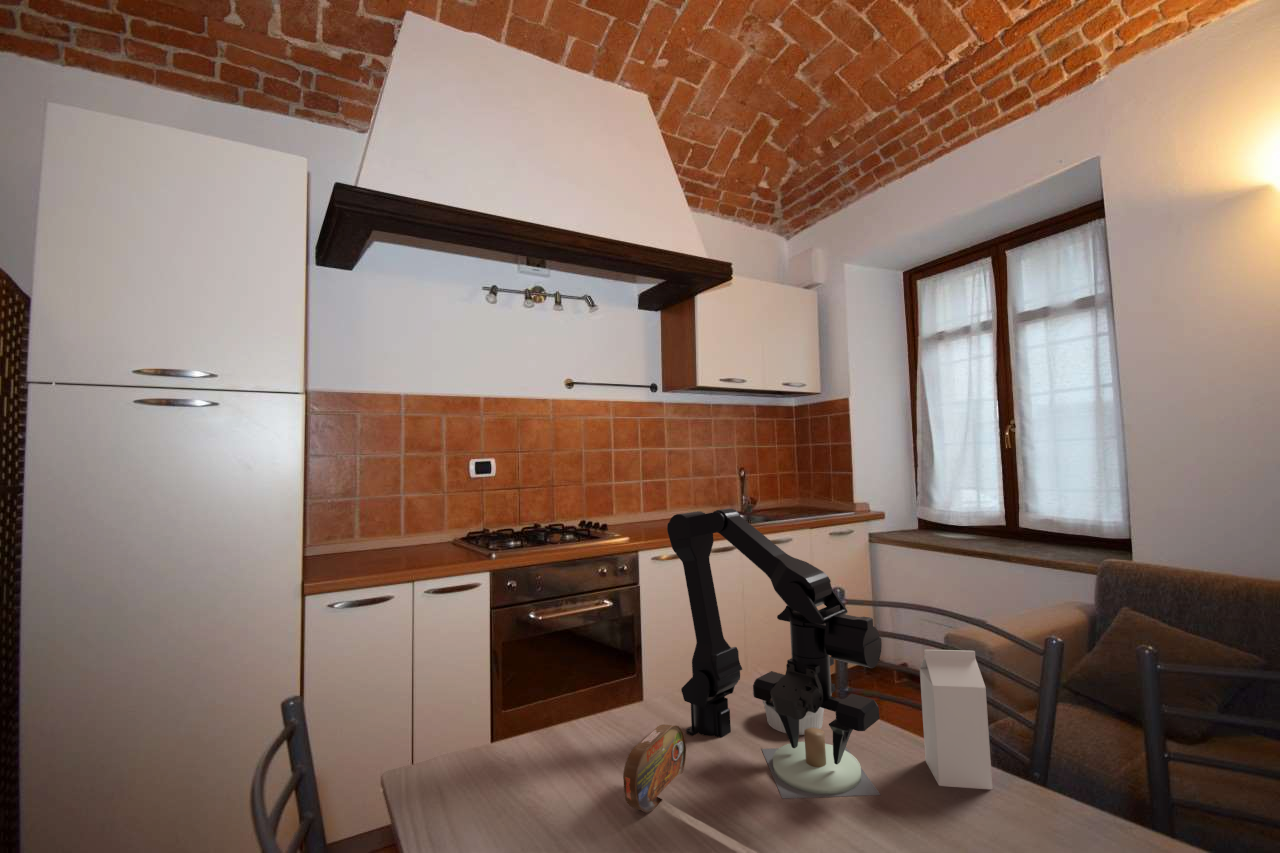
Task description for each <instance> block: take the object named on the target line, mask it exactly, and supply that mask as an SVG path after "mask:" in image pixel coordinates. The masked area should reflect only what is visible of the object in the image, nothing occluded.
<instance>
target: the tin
mask: <svg viewBox="0 0 1280 853" xmlns="http://www.w3.org/2000/svg"><path fill="white" fill-rule="evenodd" d="M686 744H687V743H686V739H685V734H684V731H683V729H682V728H681V727H680V726H679V725H677V724H675V725H671V724H659V725H658V726H656V727H655V729H653V730H652V731H651V732H649V733H648V735H647V736H645V737H644V738H643V739H642V740H641V741H640V742H638V743H637V745H635V746H634V747H633V748H631V751H630V752H629V754H628V756H627V758H626V760H625V764H624V768H623V775H622V776H623V794H624V798H625V802H626V803H627V805H628V806H629V807H630V808H632V809H635V810H638V811H642V812H643V813H650V812H653V811H654V810H655V808H656V807H658V805H660V803H661V802H662V801H663V799H662V798H661V797H659V795H660V794H661V793H662V792H663V791H664V789H665V788H667V786H668V785H669V784H671V782H672V781H673V780H674V779H675V778H676V777H677V776H678V775H681V774H683V772H684V769H685V764H686V757H687V754H686V753H687V745H686Z"/></svg>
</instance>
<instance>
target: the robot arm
mask: <svg viewBox="0 0 1280 853" xmlns="http://www.w3.org/2000/svg"><path fill="white" fill-rule="evenodd" d="M666 529H667V530H666V531H667V536H668V539H669V542H670V545H671V548H672V550H673V552H674V553H675V554H676V556H677V557H678V558H679V560H680V561H681V562H682V565H683V572H684V576H685V583H686V584H685V585H686V588H687V594H688V601H689V606H690V611H691V617H692V624H693V628H694V634H695V641H696V643H695V648H694V652H693V654H692V659H691V670H692V672H691V673H692V677H691V678H690V679H689V680H688V681H687V682H686V683H685V684H684V685H683V686H682V687H681V689H680V690H681V694H682V697H683V700H684V702H685V703H689V704H690V718H691V719H690V721H691V726H689V727H688V728H685V733H687V734H689V735H691V736H696V735H697V734H699V735H702V736H707V737H713V736H714V737H715V738H723V737H725V736H726V735H729V734H730V733H731V731H732V730H731V709H730V708H729V700H728V698H727V697H726V696H728V695H731V694H733V693H734V689H735V687H736V685H737V684H738V682H739V681H740V680H741V671H742V670H743V667H742V665H741V662H740V658H739V655H740V654H739V649H738V648H737V646H732V647H731V646H730V645H729V644H728V642H727V641H726V639H725V637H724V633H723V627H722V623H721V618H720V617H721V616H720V611H719V606H718V601H717V593H716V589H715V584H714V580H713V578H714V577H713V573H712V568H711V562H710V556H711V552H712V550H713V545H714V534H716V533H718V534H719V535H720V536H722V537H723V538H724V540H726V541H727V542H728V543H730V544H731V545H732V546H733V547H734V548H736V549H737V550H738V551H739V552H740V553H741V554H742V555H743V556H744V557H746V558H747V559H748V560H750V562H752V564H754V565H755V566H756V567H757V568H759V569H760V570H761V571H762V572H763V573H764V574H765V575H766V576H767V578H768V579H769V580H770V582H771V585H772V587H773V589H774V591H775V593H776V594H777V595H778V596H779V597H780V599H781V600H782V601H783V602H784V604H786V606H785V608H783V610H782V611H781V612H780V613H779V614H777V616H776V618H777V620H778V621H782V622H788V623H789V629H790V630H789V631H790V634H789V635H790V650H791V654H790V655H791V657H790V658H789V659H787V661H786V662H787V663H786V665H785V666H786V669H785V670H786V671H785V674H783V673H780V672H775V671H773V670H771V671H769V672H767V673H764V674H763V675H761V676H758V677H757V678H756V679H755V680H754V682H753V685H752V691H753V692H752V694H753V698H754V699H758V700H761V701H763V700H764V701H766V702H765V703H766V705H767V706H769V707H771V708H772V709H774V710H775V711H776V713H778V715H779V717H780V719H781V721H782V723H783V726H784V728H785V731H786V733H785V734H786V736H787V738H788V740H789V744H791V746H792V748H796V747H797V746H798V742H799V738H800V735H799V720H800V719H803V718H804V717H805V715H806V713H807V712H813V713H816V712H817V711H818V709H819V708H820V707H821V708H824V710H828V711H831V712H834V713H835V719H833V720H832V721H831V722H829V723H828V727H829V728H830V730H831V731H832V745H833V757H834V763H835V764H839V763H840V761H841V758H842V756H843V753H844V750H845V748H846V747H847V744H848V742H849V739H850V737H851V734H852V732H853V731H856V732H865V731H866V730H867V729H869V728H870V727H871V726H873V725H874V724H875V723H876V722H878V721H879V720H880V707H879V705H878V704H877V702H876V701H875V699H874V698H873V699H872V698H869V697H866V696H862V695H858V694H855V693H850V694H849V695H848V696H846V697H845V698H843V699H841V698H838V697H835V696H833V695H832V694H833V693H834V692H836V683H832V678H831V676H832V675H831V666H833V665H834V664H835V660H837V661H841V662H845V663H847V664H854V665H857V666H860V667H861V666H862V667H866V668H870V669H873V668H875V667H876V666H877V665H878V663H879V661H880V659H881V653H882V638H881V637H880V635H879V631H878V629H877V627H875V626H874V619H873V618H872V617H870V616H869V617H868V616H856V615H851V614H849V615H848V614H847V613H848V608H846V606H845V604H843V602H842V600H841V599H840V597H839V596H838V595H837V593H836V592H835V590H834V589H833V587H832V585H831V582H832V581H831V579H830V577H829V576H828V575H827V574H826V573H825V571H823V570H821V569H819V568H818V567H816V566H815V565H812V564H811V563H809V562H807V561H805V560H802V559H799V558H797V557H793V556H792V555H790V554H788V553H787V552H785V551H784V550H782V548H781V547H779V546H777V545H776V544H775V543H774V542H773V541H771V540H770V539H769V538H768V537H767V536H765V535H764V534H763V533H762V532H760V531H759V530H758V529H757V528H755V526H753V525H752V524H750V523H749V521H747V520H746V519H745V518H743V517H742V515H741V513H739V511H737V510H736V509H733V508H723V509H715V510H714V511H713V512H708V513H705V512H704V511H701V510H699V511H691V512H690V511H689V512H682V513H676V514H674V515H673V516H672V517H671V518H670V519H669V521H668V522H667V525H666ZM821 605H824V606H825V607H822V608H820V609H818V608H817V607H820V606H821Z"/></svg>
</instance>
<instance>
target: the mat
mask: <svg viewBox="0 0 1280 853" xmlns="http://www.w3.org/2000/svg"><path fill="white" fill-rule="evenodd" d="M779 748H780V747H778V748H777V747H776V748H773V747H772V748H771V747H770V748H761V751H762V754H763V756H764V758H765V761H766V763H767V765H768V768H769V770H770V773H771V775H772V778H773V780H774V782H775V784H776V787H777V790H778V792H779V794H780V796H781V798H782V800H787V799H788V800H791V799H812V798H813V799H814V798H818V799H820V798H840V797H842V798H843V797H845V798H847V797H868V796H871V797H872V796H873V797H874V796H881V793H880V792H879V791H878V789H877V788H876V786H875V785H874V783H873V781H872V780H871V779H870V778H869V776H868V775H867V774H866V772H865V771H864V769H863V768H862V767H861V781H860V783H859V784H858V785H857V786H856V787H855V788H854V789H852V790H850V791H847V792H844V793H839V794H815V793H809V792H805V791H802V790H798V789H796V788H793V787H791V786H789V785H788V784H786V783H784V782H783V781H782V780H781V779H780V778H778V776H777V775H776V774H775V772H774V769H773V755H774V753H775V752H776V751H777V750H778V749H779ZM845 751H847V752H849V753H850V754H852V753H851V751H850V750H849V749H848V747H847V746H846V748H845Z"/></svg>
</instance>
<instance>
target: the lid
mask: <svg viewBox="0 0 1280 853" xmlns="http://www.w3.org/2000/svg"><path fill="white" fill-rule="evenodd" d="M804 733H805V735H804V741H798V746H797V747H796V748H792V746H791V744H790V743H787V744H785V745H782V746H780V747H778V748H779V749H778V750H777V751H776V752H775V753H774V755H773V769H774V772H775V774H776V775H777V776H778V778H780V779H781V780H782V781H783V782H784V783H786V784H788V785H789V786H791V787H793V788H796V789H798V790H802V791H805V792H809V793H815V794H839V793H844V792H847V791H850V790H852V789H854V788H855V787H856V786H857V785H858V784H859V783H860V781H861V768H862V767H861V764H860V761H859V760H858V759H857V758H856V757H855V756H854V755H853V754H852V753H851V752H850V753H851V754H850V753H849V752H847V751H845V750H844V753H843V756H842V758H841V761H840V763H839V764H835V763H834V757H833V744H829V743H826V738H825V737H826V733H825V731H824V730H823V729H822V728H821V729H818V728H807V729H805V731H804Z"/></svg>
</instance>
